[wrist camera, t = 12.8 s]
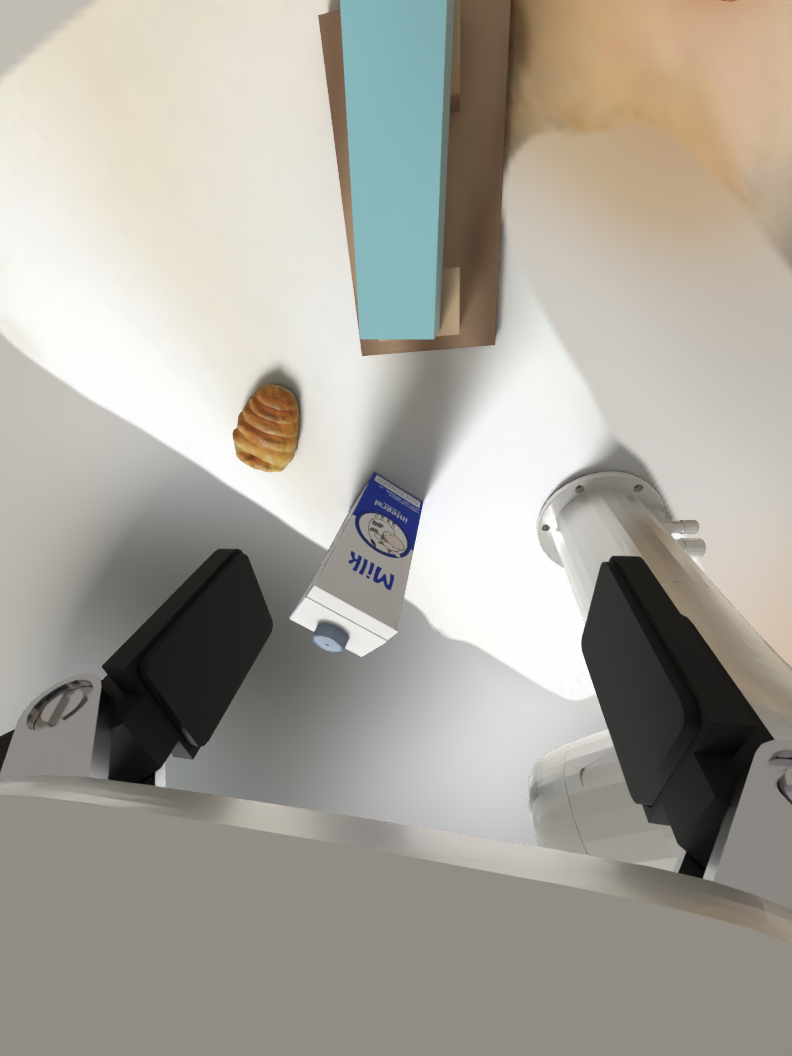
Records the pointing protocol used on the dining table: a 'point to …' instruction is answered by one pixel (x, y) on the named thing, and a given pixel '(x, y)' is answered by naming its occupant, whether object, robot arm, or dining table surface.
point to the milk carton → (363, 572)
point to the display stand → (450, 173)
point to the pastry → (268, 429)
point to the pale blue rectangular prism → (398, 159)
